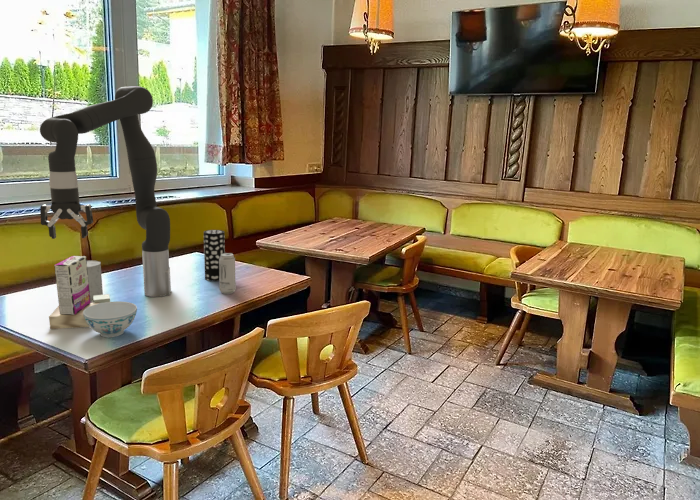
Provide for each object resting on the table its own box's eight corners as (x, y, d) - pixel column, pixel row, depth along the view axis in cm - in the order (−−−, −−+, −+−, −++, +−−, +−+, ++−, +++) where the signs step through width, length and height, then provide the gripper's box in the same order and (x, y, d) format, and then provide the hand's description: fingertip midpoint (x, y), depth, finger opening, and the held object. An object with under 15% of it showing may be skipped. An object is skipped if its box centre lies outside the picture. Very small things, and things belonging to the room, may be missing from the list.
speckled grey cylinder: (91, 301, 190) (89, 268, 187) (68, 298, 192) (65, 265, 189) (108, 293, 199) (106, 261, 196) (86, 290, 201) (83, 259, 198)
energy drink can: (216, 292, 205) (215, 255, 201) (226, 288, 210) (226, 251, 206) (228, 295, 202) (227, 257, 198) (238, 291, 207) (238, 254, 204)
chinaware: (76, 342, 155) (73, 317, 153) (97, 323, 170) (95, 300, 168) (128, 343, 156) (126, 318, 154) (144, 324, 171) (143, 301, 169)
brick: (110, 307, 184) (109, 294, 183) (110, 312, 180) (110, 298, 179) (94, 309, 182) (93, 295, 181) (94, 314, 178) (93, 300, 177)
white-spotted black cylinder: (229, 278, 224) (228, 231, 219) (214, 282, 217) (213, 234, 212) (215, 274, 228) (214, 229, 224) (200, 278, 221) (199, 232, 217)
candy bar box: (76, 303, 176) (71, 255, 172) (91, 303, 176) (87, 255, 172) (58, 315, 165) (53, 264, 161) (74, 315, 165) (70, 264, 161)
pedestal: (100, 313, 178) (99, 302, 177) (92, 326, 167) (91, 315, 166) (61, 315, 175) (60, 303, 175) (50, 328, 164) (48, 316, 163)
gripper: (92, 184, 166) (96, 235, 170) (42, 184, 163) (47, 235, 167) (86, 187, 159) (90, 240, 163) (34, 187, 156) (39, 241, 160)
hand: (68, 238), depth 165 cm, fingers open, 8 cm apart
